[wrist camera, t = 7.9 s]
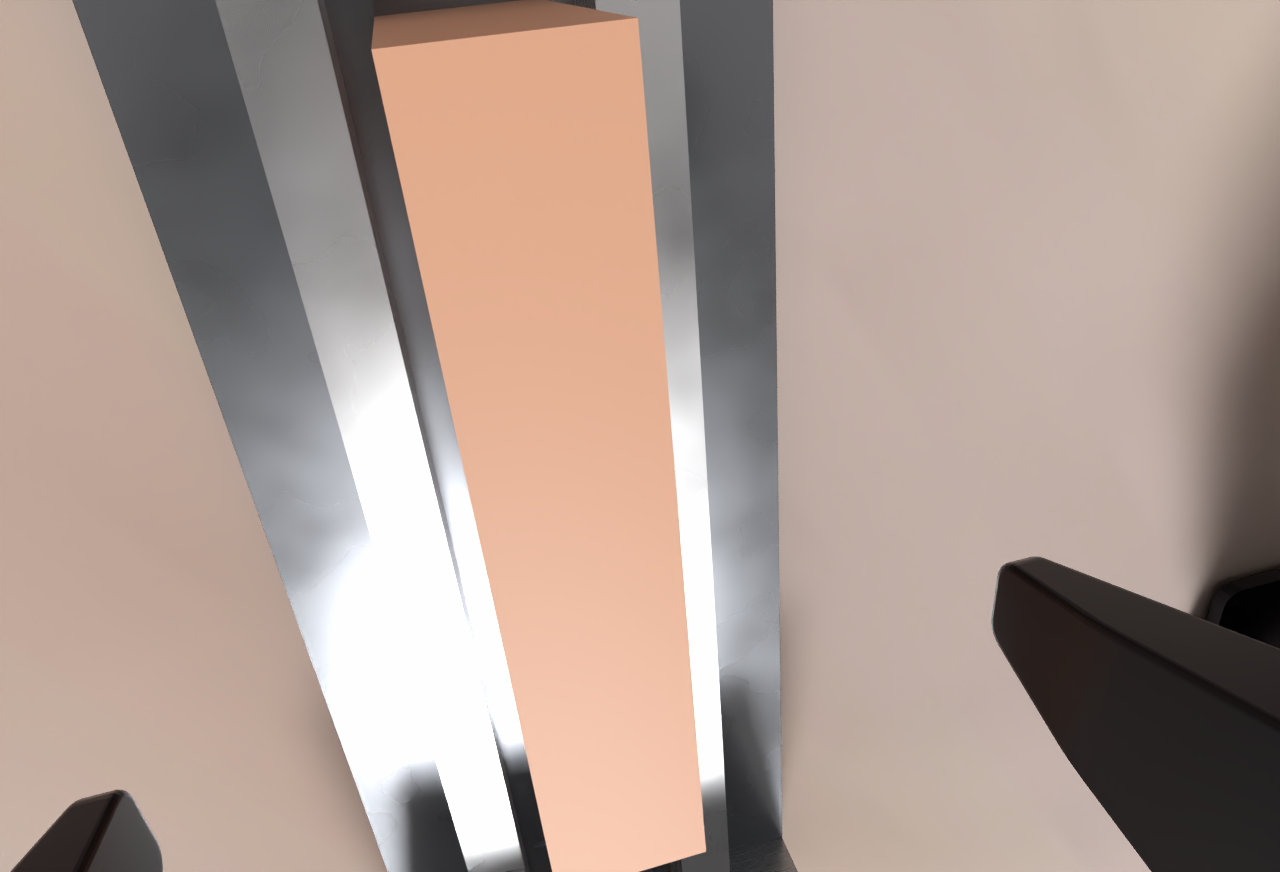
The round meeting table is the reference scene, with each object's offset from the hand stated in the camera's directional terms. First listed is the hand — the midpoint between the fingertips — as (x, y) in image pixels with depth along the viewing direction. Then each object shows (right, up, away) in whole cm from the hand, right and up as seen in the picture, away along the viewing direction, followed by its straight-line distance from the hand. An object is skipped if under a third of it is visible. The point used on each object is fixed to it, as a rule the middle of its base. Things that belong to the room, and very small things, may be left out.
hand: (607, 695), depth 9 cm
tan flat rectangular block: (-2, +4, +7) cm, 8 cm away
